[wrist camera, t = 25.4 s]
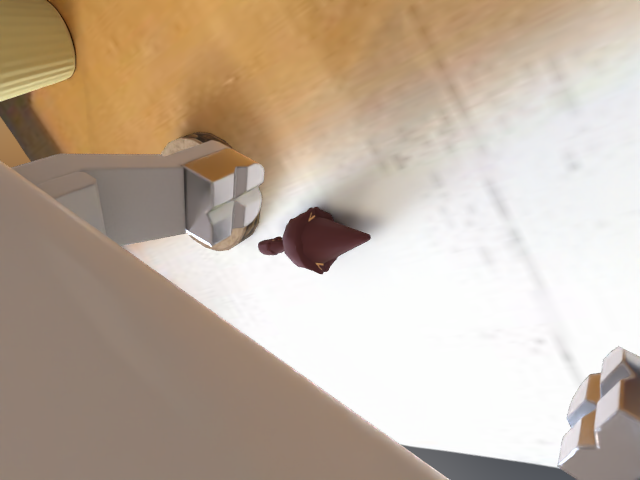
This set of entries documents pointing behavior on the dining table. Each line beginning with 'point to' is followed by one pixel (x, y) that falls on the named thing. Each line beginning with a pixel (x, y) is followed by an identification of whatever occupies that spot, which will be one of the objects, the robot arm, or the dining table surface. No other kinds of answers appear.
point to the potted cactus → (32, 47)
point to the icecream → (314, 240)
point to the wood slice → (237, 233)
